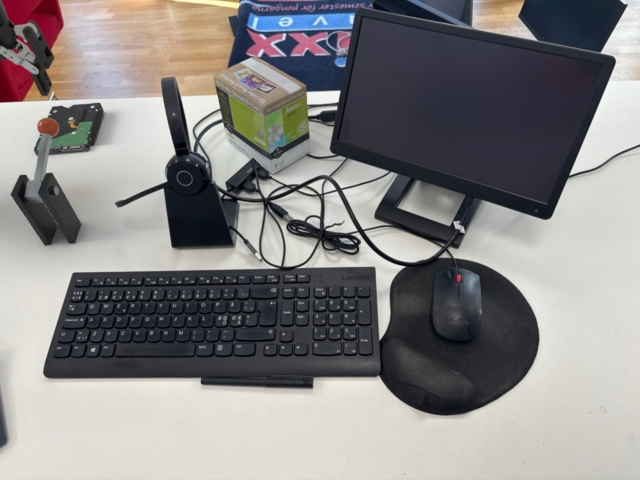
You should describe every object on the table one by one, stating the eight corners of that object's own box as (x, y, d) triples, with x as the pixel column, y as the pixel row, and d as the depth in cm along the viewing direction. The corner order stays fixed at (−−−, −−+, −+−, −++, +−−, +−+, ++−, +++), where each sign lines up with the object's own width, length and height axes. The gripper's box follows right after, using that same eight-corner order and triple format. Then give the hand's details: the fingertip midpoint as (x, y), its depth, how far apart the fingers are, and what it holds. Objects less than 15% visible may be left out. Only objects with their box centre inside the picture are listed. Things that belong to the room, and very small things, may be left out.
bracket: (50, 219, 90) (15, 163, 81) (96, 216, 91) (66, 159, 81) (33, 264, 84) (-8, 208, 74) (83, 260, 84) (48, 204, 74)
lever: (44, 126, 86) (34, 114, 83) (64, 124, 86) (54, 112, 83) (30, 205, 80) (19, 195, 77) (51, 204, 80) (40, 194, 77)
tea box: (312, 152, 100) (308, 84, 89) (272, 176, 96) (262, 108, 84) (264, 119, 107) (255, 52, 96) (225, 140, 103) (210, 74, 92)
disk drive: (56, 117, 111) (38, 161, 101) (50, 106, 109) (32, 150, 99) (105, 112, 111) (92, 156, 102) (100, 101, 109) (86, 144, 99)
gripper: (23, -34, 67) (72, 78, 79) (-88, -27, 67) (-22, 84, 79) (4, -9, 62) (59, 106, 74) (-117, -2, 62) (-41, 113, 74)
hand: (17, 95), depth 77 cm, fingers open, 8 cm apart
